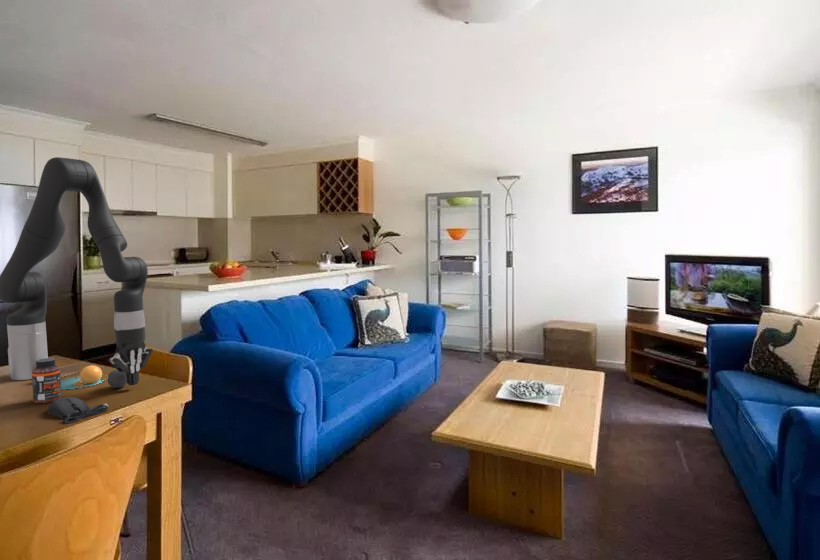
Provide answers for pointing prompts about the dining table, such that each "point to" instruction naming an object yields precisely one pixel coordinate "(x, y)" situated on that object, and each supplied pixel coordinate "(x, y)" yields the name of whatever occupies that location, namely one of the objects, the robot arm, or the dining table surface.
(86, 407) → the computer mouse
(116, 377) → the grey ball
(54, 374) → the supplement bottle
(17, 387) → the dining table surface
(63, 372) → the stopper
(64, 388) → the teal mark
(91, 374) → the orange ball
